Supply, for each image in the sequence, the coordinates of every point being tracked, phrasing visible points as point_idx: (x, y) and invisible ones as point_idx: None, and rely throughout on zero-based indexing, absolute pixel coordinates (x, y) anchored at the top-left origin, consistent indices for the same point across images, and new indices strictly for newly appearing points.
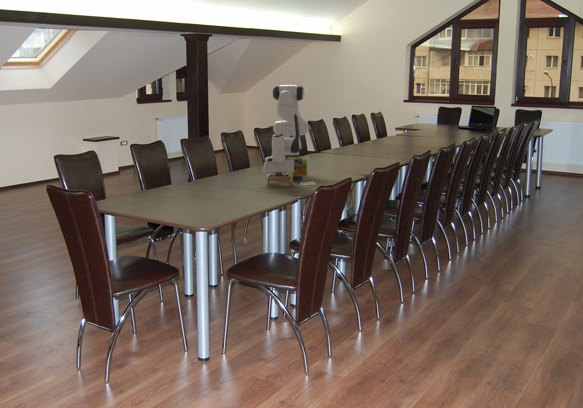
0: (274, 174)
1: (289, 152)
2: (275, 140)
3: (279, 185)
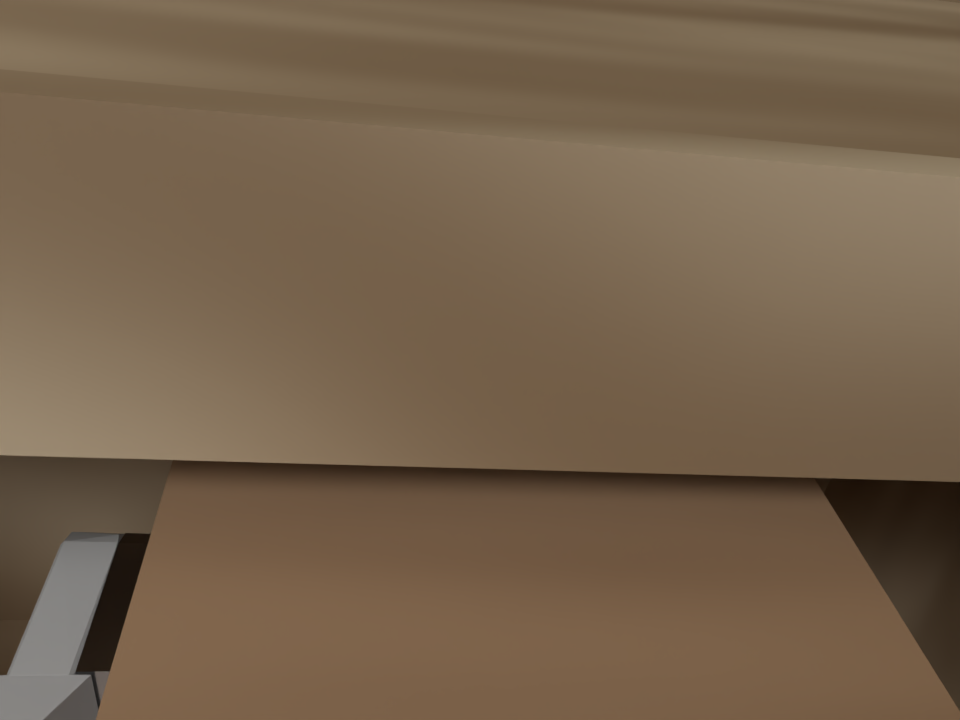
0: (37, 284)
1: None
2: None
3: None
